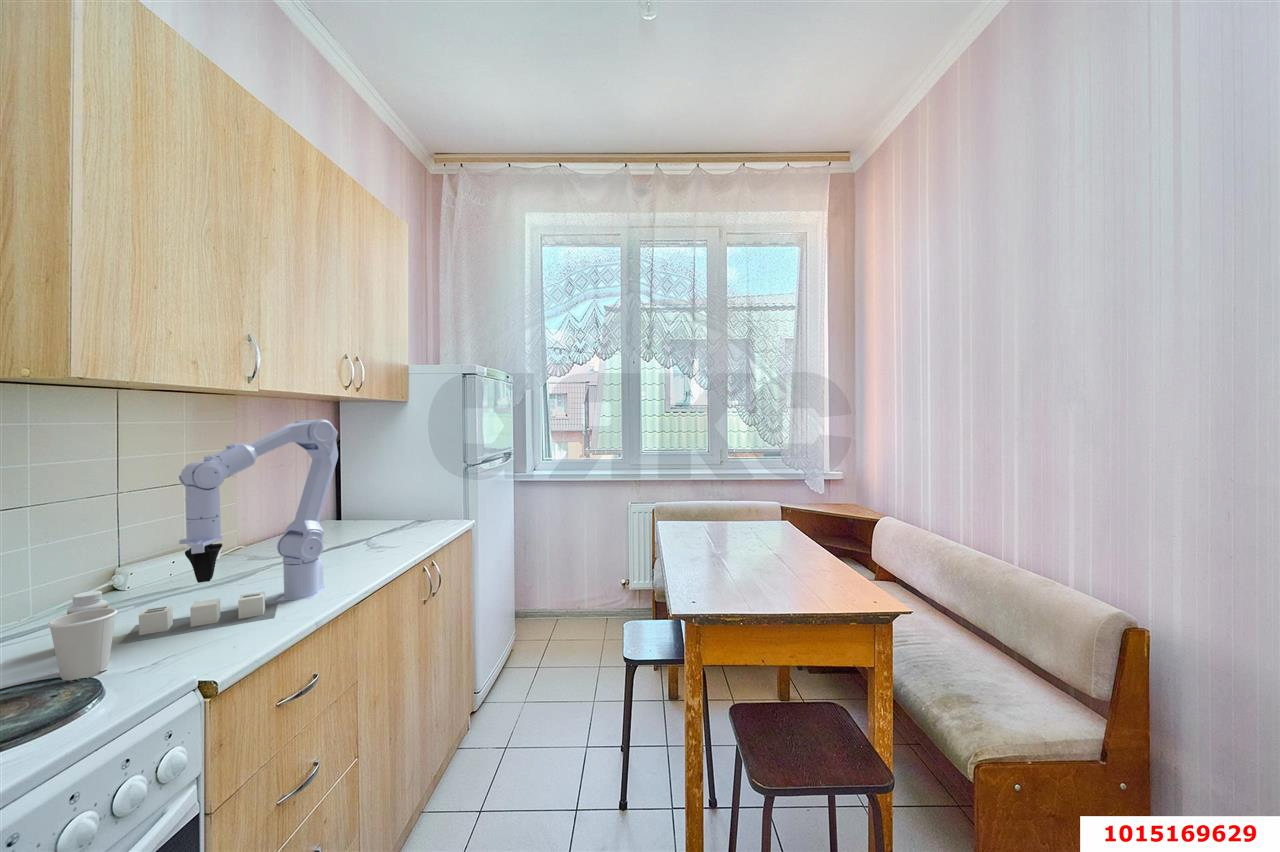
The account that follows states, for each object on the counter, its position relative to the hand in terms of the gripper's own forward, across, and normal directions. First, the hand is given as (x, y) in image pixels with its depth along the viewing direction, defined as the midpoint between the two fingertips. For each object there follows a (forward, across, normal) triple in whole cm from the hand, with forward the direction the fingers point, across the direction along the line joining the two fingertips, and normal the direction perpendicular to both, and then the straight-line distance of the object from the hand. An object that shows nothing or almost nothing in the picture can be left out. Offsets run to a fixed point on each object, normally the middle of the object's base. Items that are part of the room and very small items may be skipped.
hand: (205, 580), depth 115 cm
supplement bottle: (+10, +1, -18) cm, 20 cm away
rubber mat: (+9, 0, 0) cm, 9 cm away
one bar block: (+9, 0, +8) cm, 12 cm away
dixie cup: (+10, +18, -14) cm, 25 cm away
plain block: (+9, 0, 0) cm, 9 cm away
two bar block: (+9, 0, -8) cm, 12 cm away
